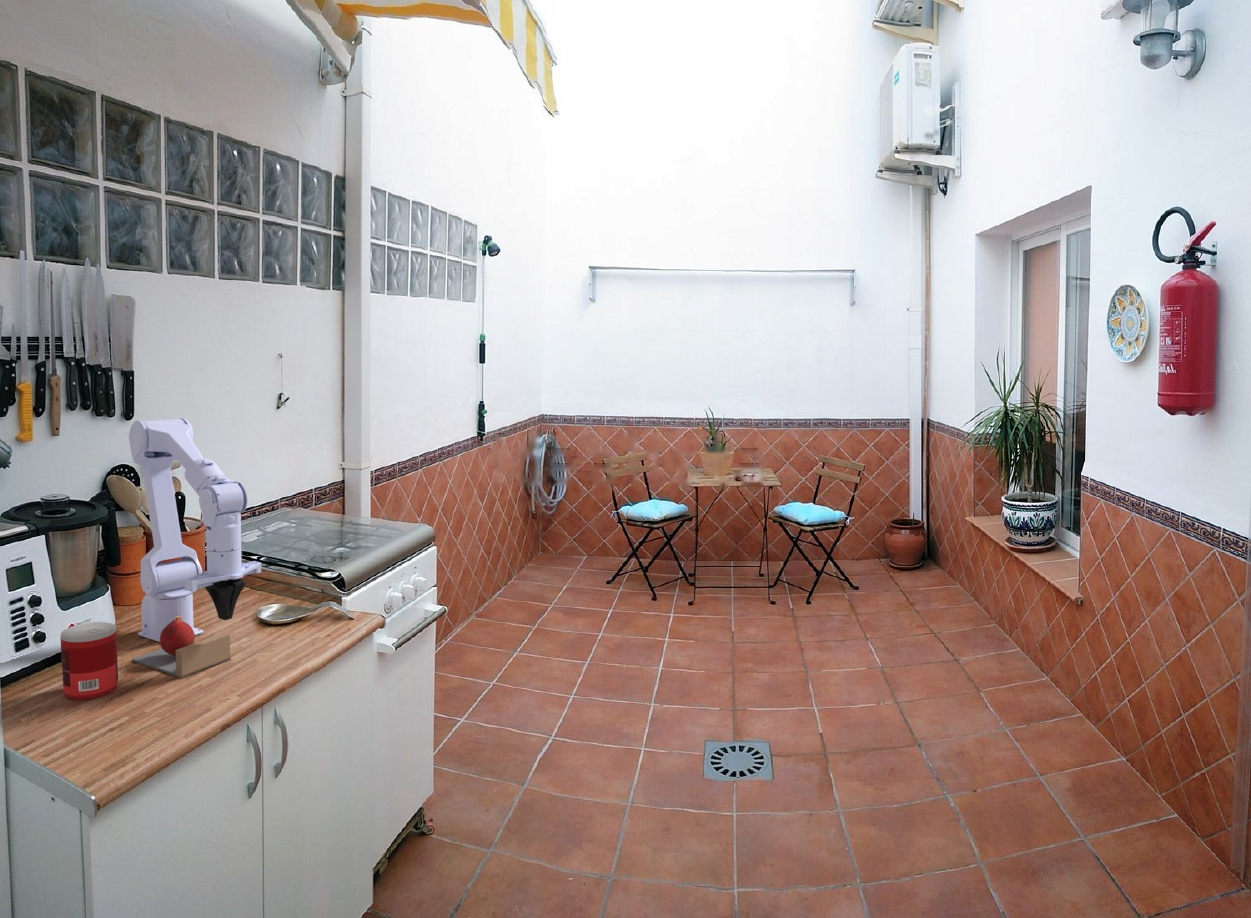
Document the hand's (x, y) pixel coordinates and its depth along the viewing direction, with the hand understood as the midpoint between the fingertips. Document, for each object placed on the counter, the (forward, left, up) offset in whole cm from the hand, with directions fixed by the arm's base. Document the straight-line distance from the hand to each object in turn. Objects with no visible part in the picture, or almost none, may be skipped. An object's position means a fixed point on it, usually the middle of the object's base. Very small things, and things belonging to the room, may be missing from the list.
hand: (225, 618), depth 151 cm
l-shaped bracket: (-8, -3, -9) cm, 13 cm away
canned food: (-10, -19, -10) cm, 23 cm away
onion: (-10, -3, -9) cm, 14 cm away
